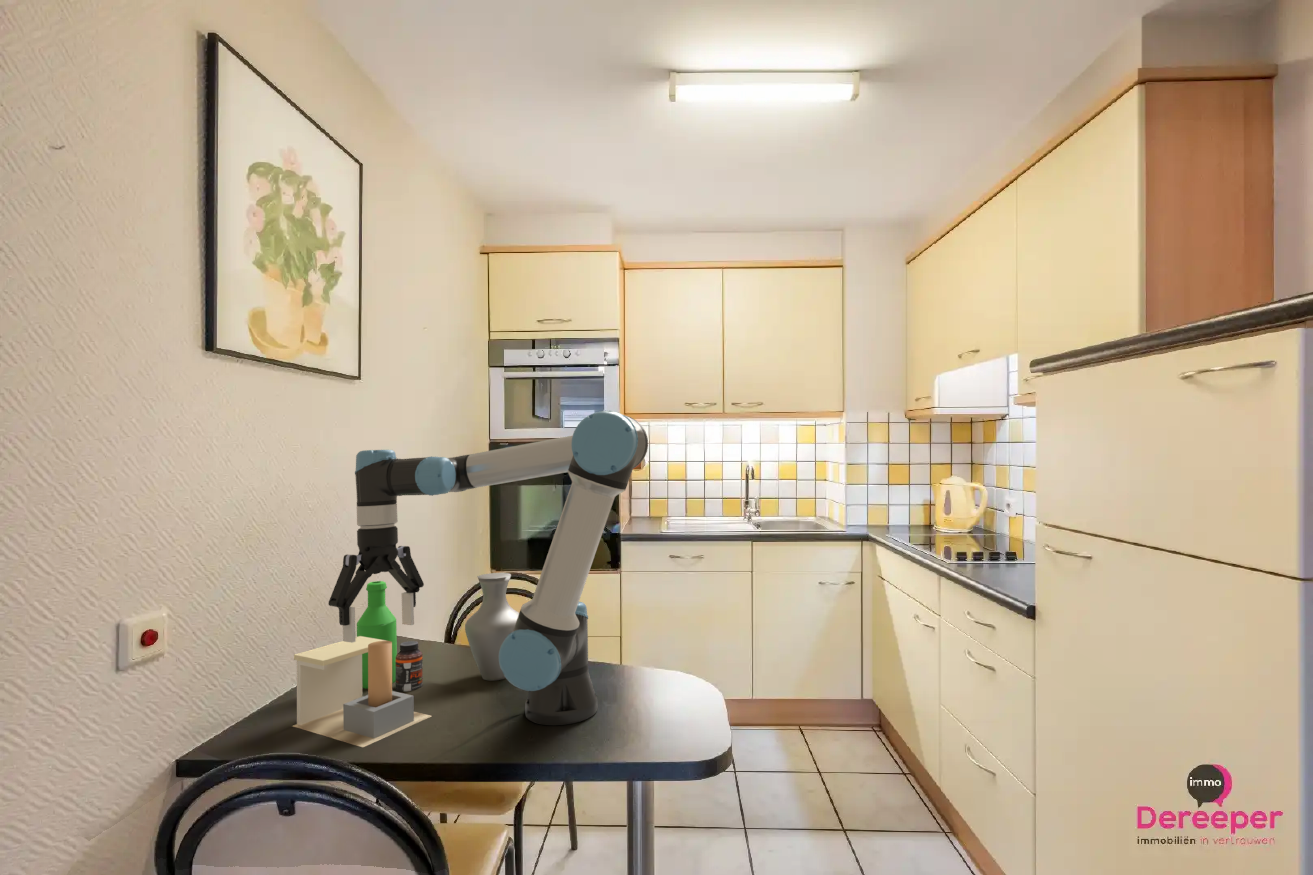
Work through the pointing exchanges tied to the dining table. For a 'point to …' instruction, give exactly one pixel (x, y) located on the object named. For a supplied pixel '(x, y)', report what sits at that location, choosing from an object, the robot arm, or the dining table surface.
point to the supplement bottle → (409, 667)
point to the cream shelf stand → (329, 678)
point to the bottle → (377, 625)
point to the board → (335, 729)
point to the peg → (379, 673)
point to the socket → (378, 715)
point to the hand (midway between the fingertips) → (380, 632)
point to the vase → (491, 625)
